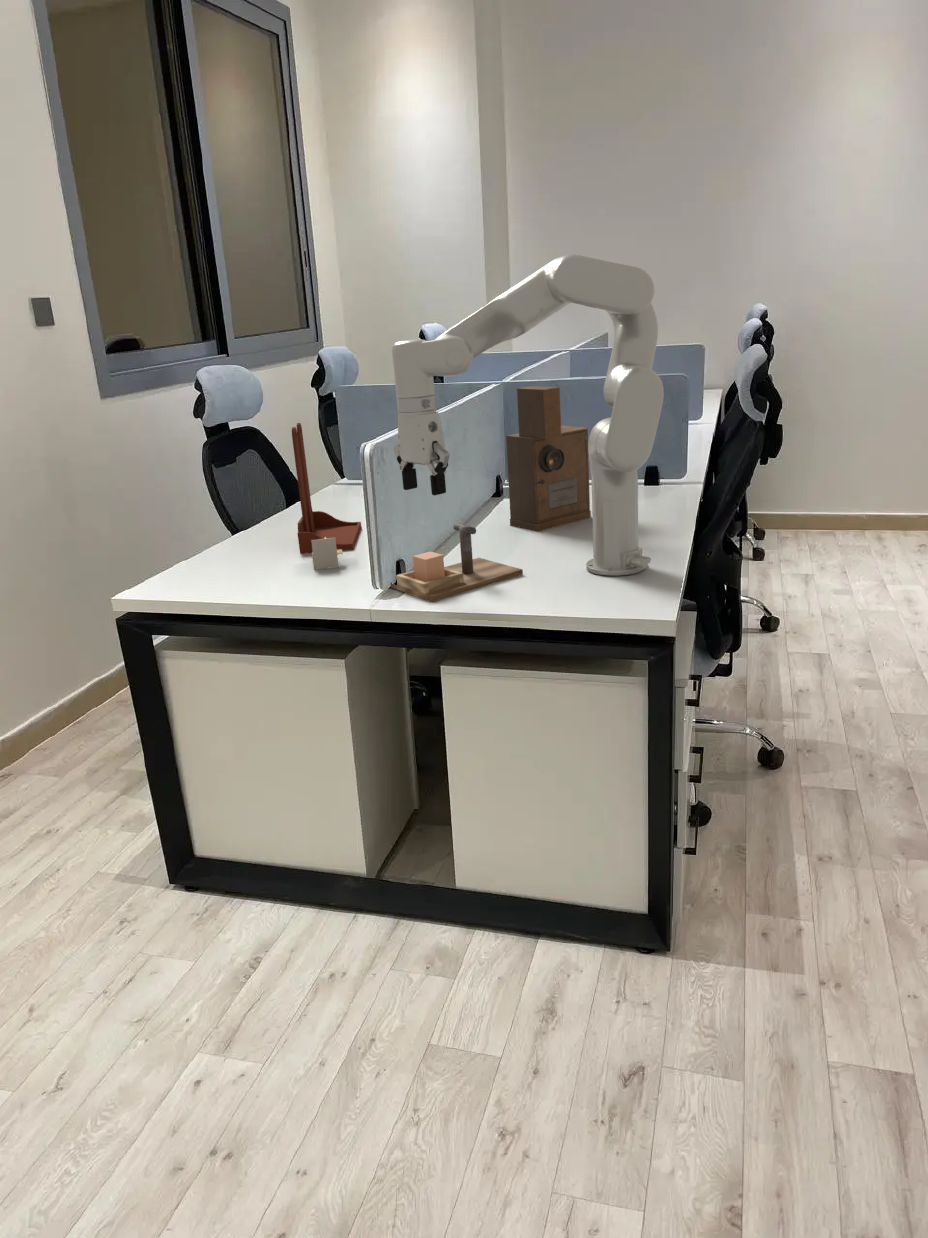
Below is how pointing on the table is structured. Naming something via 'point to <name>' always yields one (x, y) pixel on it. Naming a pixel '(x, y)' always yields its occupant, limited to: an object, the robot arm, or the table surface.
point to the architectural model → (325, 553)
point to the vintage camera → (546, 464)
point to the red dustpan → (317, 522)
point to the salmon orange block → (428, 566)
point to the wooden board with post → (458, 574)
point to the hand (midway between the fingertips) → (424, 491)
